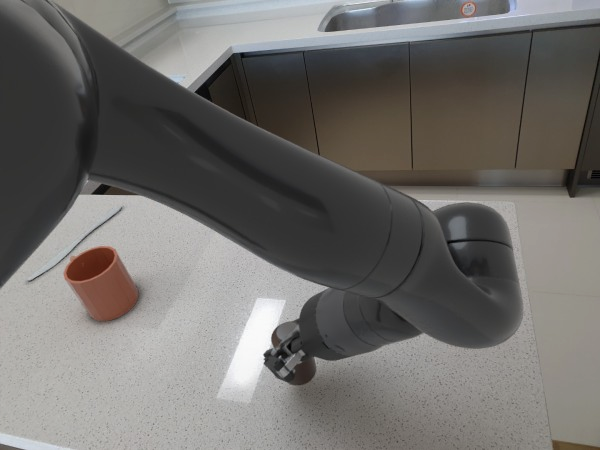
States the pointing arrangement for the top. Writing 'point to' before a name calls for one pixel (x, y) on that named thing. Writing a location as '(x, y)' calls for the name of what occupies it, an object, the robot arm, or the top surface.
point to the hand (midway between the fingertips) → (282, 343)
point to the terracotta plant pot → (101, 283)
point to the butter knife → (73, 244)
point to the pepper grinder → (302, 370)
